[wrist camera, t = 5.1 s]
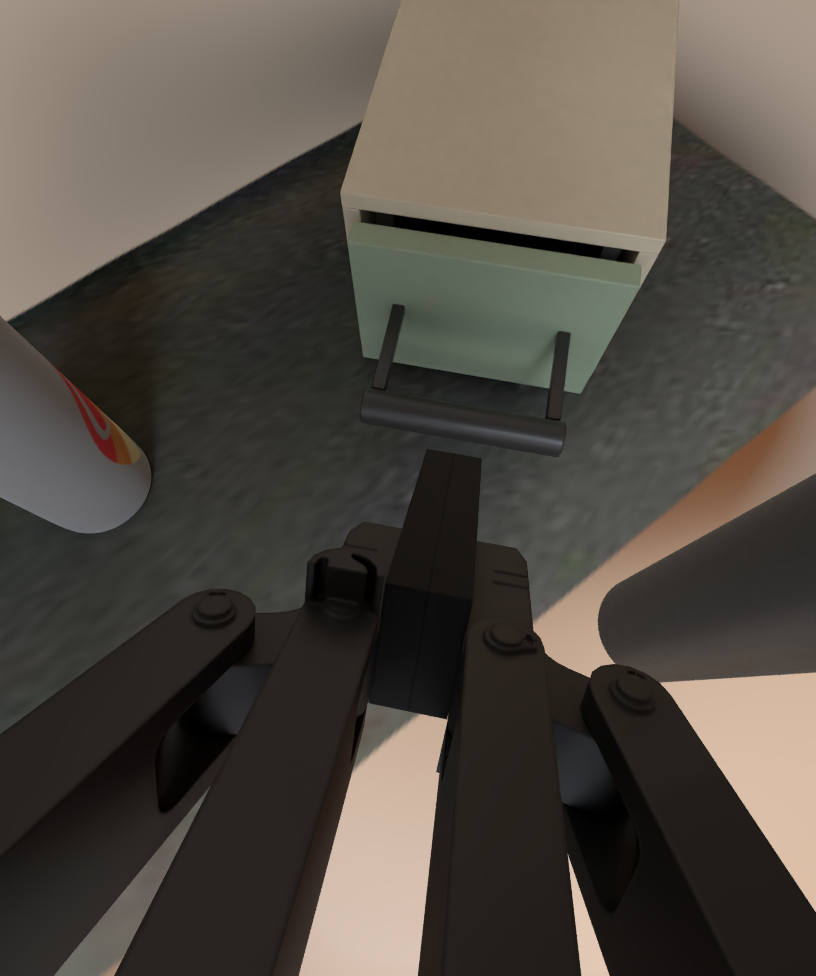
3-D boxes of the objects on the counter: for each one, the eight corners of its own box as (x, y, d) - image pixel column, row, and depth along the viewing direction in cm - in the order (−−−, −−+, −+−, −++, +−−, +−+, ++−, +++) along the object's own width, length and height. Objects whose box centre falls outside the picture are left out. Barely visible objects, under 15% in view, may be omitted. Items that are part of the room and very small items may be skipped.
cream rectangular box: (589, 378, 33) (666, 240, 23) (360, 340, 34) (339, 191, 24) (609, 180, 38) (679, -3, 28) (411, 151, 39) (411, -34, 29)
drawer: (569, 499, 29) (631, 422, 21) (336, 457, 30) (308, 367, 22) (601, 198, 37) (657, 53, 28) (411, 171, 37) (412, 22, 29)
